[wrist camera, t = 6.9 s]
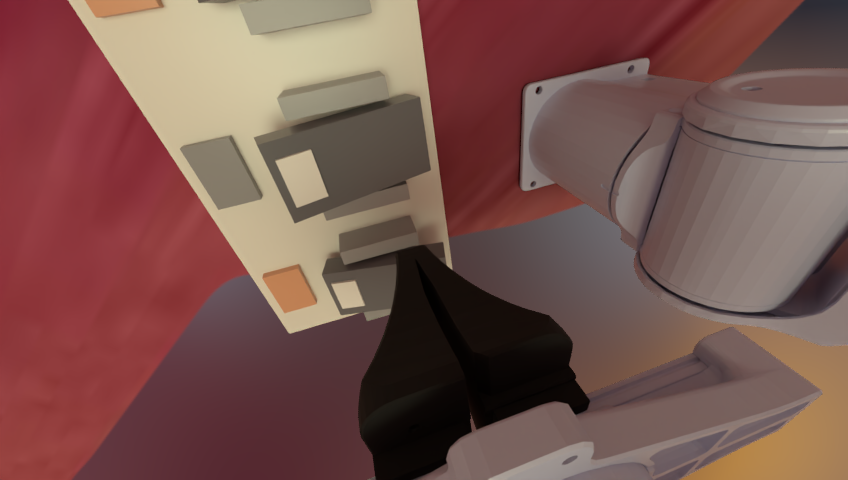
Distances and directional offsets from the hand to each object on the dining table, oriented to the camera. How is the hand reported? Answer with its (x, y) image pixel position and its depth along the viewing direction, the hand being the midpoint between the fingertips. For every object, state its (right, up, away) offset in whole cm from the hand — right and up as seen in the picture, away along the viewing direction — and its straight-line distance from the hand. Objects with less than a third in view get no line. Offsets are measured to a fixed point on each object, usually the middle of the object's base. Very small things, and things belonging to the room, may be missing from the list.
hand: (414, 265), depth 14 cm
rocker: (-2, -2, +8) cm, 8 cm away
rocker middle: (-3, +6, +2) cm, 7 cm away
